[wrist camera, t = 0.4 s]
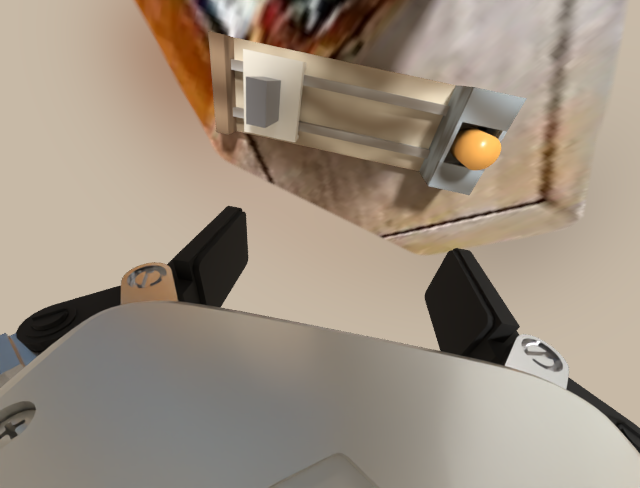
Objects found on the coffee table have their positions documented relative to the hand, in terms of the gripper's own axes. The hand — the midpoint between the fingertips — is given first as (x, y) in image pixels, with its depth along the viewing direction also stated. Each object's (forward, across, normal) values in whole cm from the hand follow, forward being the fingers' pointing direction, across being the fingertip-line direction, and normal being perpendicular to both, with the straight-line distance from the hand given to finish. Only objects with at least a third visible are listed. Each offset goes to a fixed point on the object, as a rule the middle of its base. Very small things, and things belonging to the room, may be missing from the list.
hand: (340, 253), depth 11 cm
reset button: (+28, -15, -2) cm, 31 cm away
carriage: (+32, +12, -3) cm, 34 cm away
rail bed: (+34, +1, -2) cm, 34 cm away
